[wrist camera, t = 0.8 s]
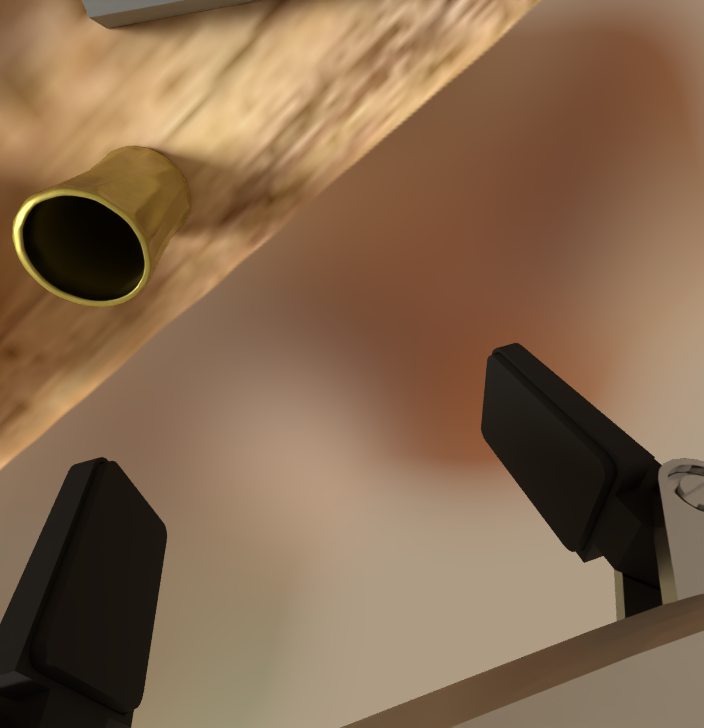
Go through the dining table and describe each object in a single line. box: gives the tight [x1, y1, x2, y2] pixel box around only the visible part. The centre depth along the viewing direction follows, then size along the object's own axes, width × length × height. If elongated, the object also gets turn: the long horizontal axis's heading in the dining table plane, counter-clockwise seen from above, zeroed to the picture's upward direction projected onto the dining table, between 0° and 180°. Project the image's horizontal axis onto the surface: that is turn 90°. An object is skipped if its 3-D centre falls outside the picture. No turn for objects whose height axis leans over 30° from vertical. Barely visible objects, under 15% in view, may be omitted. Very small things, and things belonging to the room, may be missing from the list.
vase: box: [12, 146, 191, 307], centre depth 22 cm, size 6×6×14 cm
